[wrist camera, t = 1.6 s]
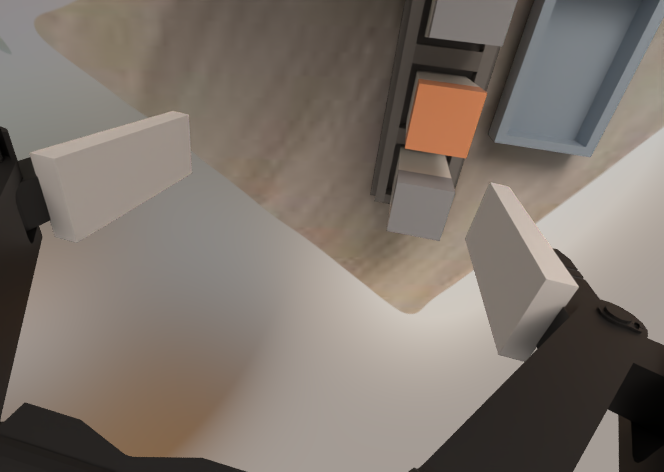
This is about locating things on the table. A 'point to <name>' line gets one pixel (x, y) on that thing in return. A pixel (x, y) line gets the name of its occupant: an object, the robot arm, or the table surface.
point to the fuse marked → (443, 113)
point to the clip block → (408, 59)
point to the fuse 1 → (420, 194)
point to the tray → (572, 72)
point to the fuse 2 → (470, 20)
